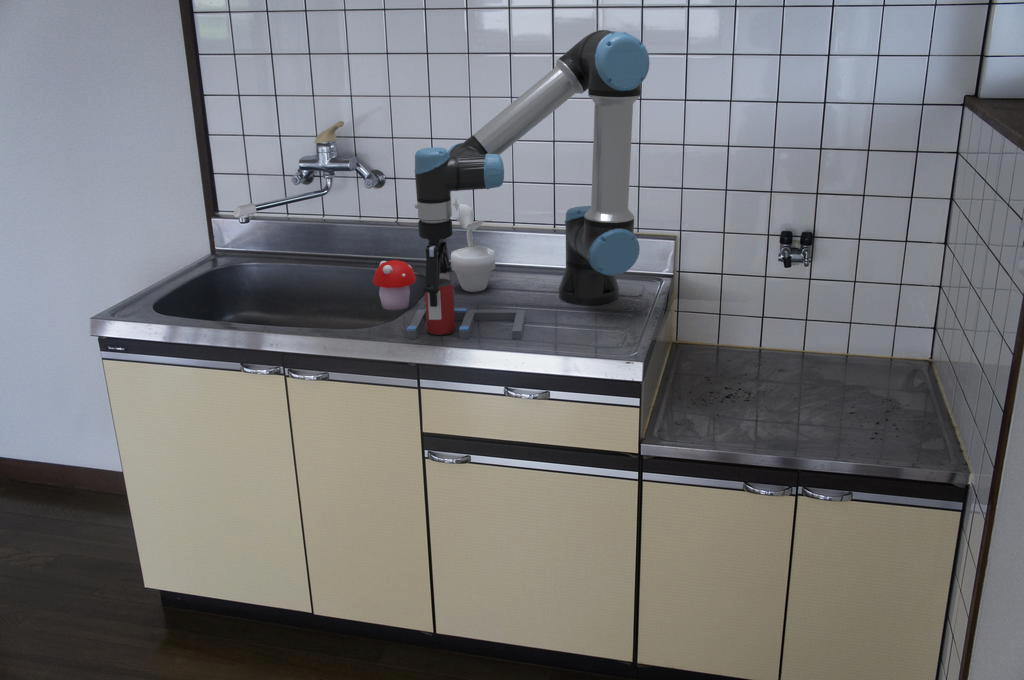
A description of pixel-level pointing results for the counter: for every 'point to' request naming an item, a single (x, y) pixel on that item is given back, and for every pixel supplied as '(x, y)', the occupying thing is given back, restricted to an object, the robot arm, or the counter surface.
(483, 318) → the duct comb
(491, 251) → the potted plant
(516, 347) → the counter surface
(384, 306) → the mushroom
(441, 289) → the beer can
